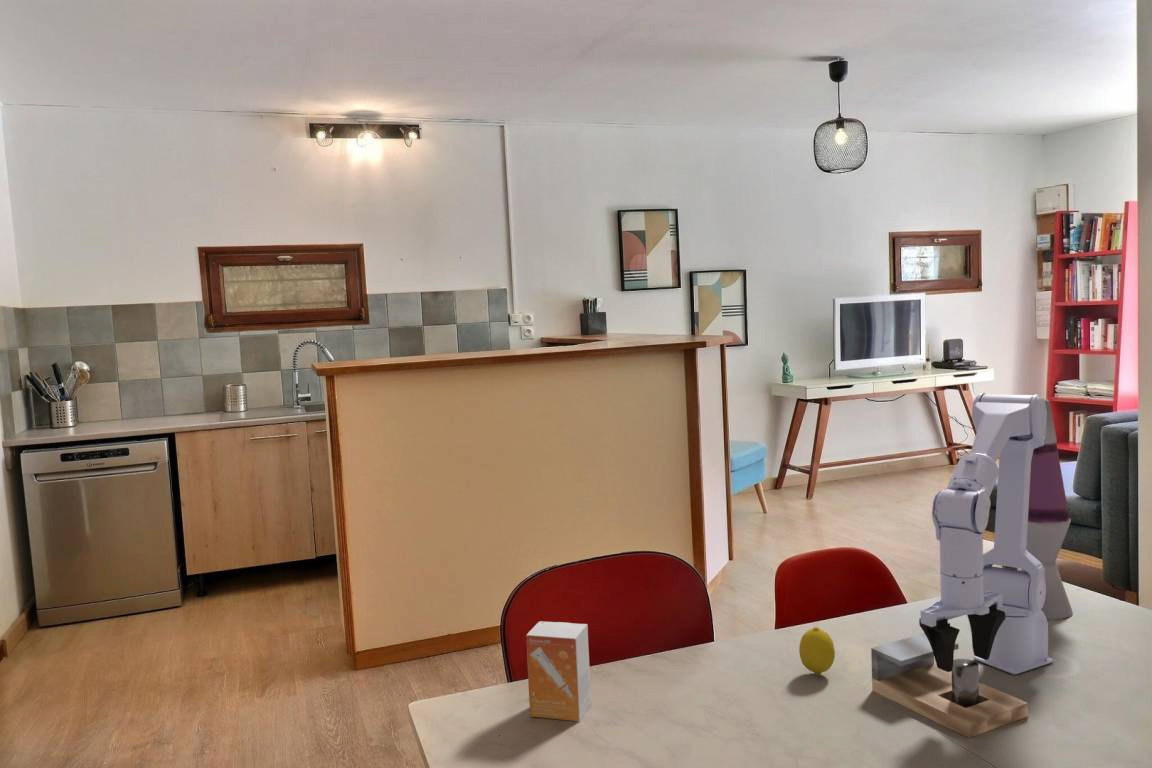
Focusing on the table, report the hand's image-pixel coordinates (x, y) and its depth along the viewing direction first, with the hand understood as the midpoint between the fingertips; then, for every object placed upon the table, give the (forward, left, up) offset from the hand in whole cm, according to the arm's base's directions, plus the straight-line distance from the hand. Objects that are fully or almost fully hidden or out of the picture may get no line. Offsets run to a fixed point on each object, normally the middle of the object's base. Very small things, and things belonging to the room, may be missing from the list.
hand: (963, 663), depth 131 cm
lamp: (-45, -21, -7) cm, 50 cm away
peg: (0, 0, -7) cm, 7 cm away
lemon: (+9, -21, -7) cm, 24 cm away
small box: (+50, -32, -7) cm, 60 cm away
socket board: (0, -3, -7) cm, 8 cm away
